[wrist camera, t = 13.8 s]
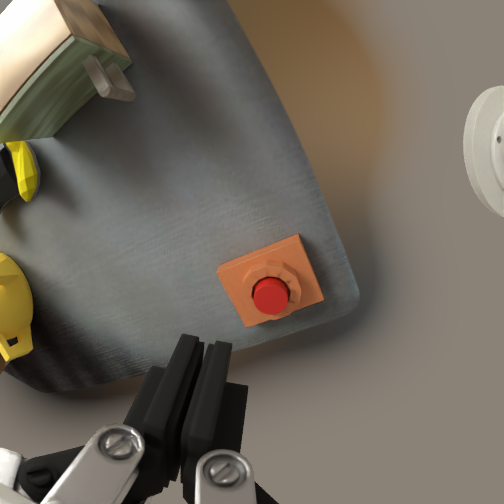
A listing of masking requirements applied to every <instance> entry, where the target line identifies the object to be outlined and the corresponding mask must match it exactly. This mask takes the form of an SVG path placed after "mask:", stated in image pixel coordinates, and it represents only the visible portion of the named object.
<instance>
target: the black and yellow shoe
mask: <svg viewBox="0 0 504 504" xmlns="http://www.w3.org/2000/svg"><path fill="white" fill-rule="evenodd" d="M3 145H4V148H3V149H2V150H0V213H1V212H2V210H3V208H4V207H5V205H6V204H7V203H8V202H9V201H11V200H12V199H13V198H15V197H16V196H17V195H19V194H20V195H21V197H22V198H23V199H24V200H25V201H27V202H30V201H33V200H34V199H35V197H36V194H37V191H38V188H39V186H40V176H41V172H40V168H39V165H38V162H37V158H36V155H35V153H34V151H33V149H32V148H31V146H30V144H29V143H28V142H27V141H25V140H23V141H15V142H8V143H4V144H3Z"/></svg>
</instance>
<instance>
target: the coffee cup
mask: <svg viewBox="0 0 504 504" xmlns="http://www.w3.org/2000/svg"><path fill="white" fill-rule="evenodd" d="M6 342H7V341H6ZM7 344H8V346H9V347H10V345H9V343H8V342H7ZM10 361H11V360H10ZM10 361H7V362H6V361H5V359H4V358H3V356H2V354H1V353H0V374H1V372H2V371H3V370H4V368H5V367H6V366H7V364H8V363H9V362H10Z"/></svg>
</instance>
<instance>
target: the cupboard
mask: <svg viewBox="0 0 504 504" xmlns="http://www.w3.org/2000/svg"><path fill="white" fill-rule="evenodd" d="M71 35H75V36H78V37H80V38H83V39H85V40H88V41H90V42H93V43H95V44H97V45H100V46H102V47H105V48H107V49H109V50H112V51H114V52H116V53H118V54H121V55H123V56H125V57H127V58H129V59H130V57H129V55H128V54H127V52H126V50H125V49H124V47H123V45H122V44H121V42H120V41H119V39H118V37H117V36H116V34H115V32H114V31H113V29H112V28H111V26H110V24H109V23H108V21H107V19H106V18H105V16H104V14H103V13H102V11H101V10H100V8H99V6H98V5H97V4H96V3H95V2H93V1H91V0H13V1H12V2H11V4H10V5H9V6H8V7H7V8H6V9H5V10H4V12H3V13H2V14H1V15H0V116H1V114H2V113H3V112H4V110H5V109H6V108H7V106H8V105H9V104H10V102H11V101H12V100H13V98H14V97H15V96H16V95H17V93H18V92H19V91H20V90H21V89H22V87H23V86H24V85H25V84H26V83H27V81H28V80H29V79H30V78H31V77H32V76H33V75H34V73H35V72H36V71H37V70H38V69H39V68H40V67H41V66H42V65H43V63H44V62H45V61H46V60H47V59H48V58H49V57H50V56H51V55H52V54H53V53H54V52H55V51H56V50H57V49H58V48H59V47H60V46H61V45H62V44H63V43H64V42H65V41H66V40H67V39H68V38H69V37H70V36H71Z"/></svg>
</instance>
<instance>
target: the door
mask: <svg viewBox="0 0 504 504" xmlns="http://www.w3.org/2000/svg"><path fill="white" fill-rule="evenodd" d="M132 63H133V62H132V61H131V59H129V58H127V57H125V56H123V55H121V54H118V53H116V52H114V51H112V50H109V49H107V48H105V47H102V46H100V45H97V44H95V43H93V42H90V41H88V40H85V39H83V38H80V37H78V36H75V35H71V36H70V37H69V38H68V39H67V40H66V41H65V42H64V43H63V44H62V45H61V46H60V47H59V48H58V49H57V50H56V51H55V52H54V53H53V54H52V55H51V56H50V57H49V58H48V59H47V60H46V61H45V62H44V63H43V65H42V66H41V67H40V68H39V69H38V70H37V71H36V72H35V73H34V75H33V76H32V77H31V78H30V79H29V80H28V81H27V83H26V84H25V85H24V86H23V87H22V89H21V90H20V91H19V92H18V93H17V95H16V96H15V97H14V98H13V100H12V101H11V102H10V104H9V105H8V106H7V108H6V109H5V110H4V112H3V113H2V114H1V116H0V144H1V143H8V142H15V141H23V140H31V139H40V138H51V137H52V136H53V135H54V134H55V133H56V132H57V131H58V130H59V129H60V128H61V127H62V126H63V125H64V124H65V123H66V122H67V121H68V120H69V119H70V118H71V117H72V116H73V115H74V114H75V113H76V112H77V111H78V110H79V109H80V108H81V107H82V106H83V105H84V104H85V103H87V102H88V101H89V100H90V99H91V98H92V97H93V96H94V95H95V94H96V93H98V92H99V94H100V96H101V97H105V98H111V99H117V100H122V101H128V102H133V101H134V100H135V99H136V93H135V92H134V90H133V88H132V87H131V85H130V84H129V82H128V80H127V79H126V77H125V76H124V74H123V72H122V71H124V70H125V69H126V68H127V67H129V66H130V65H131V64H132ZM111 81H112V82H113V84H114V86H115V87H114V86H113V84H112V82H111Z"/></svg>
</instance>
